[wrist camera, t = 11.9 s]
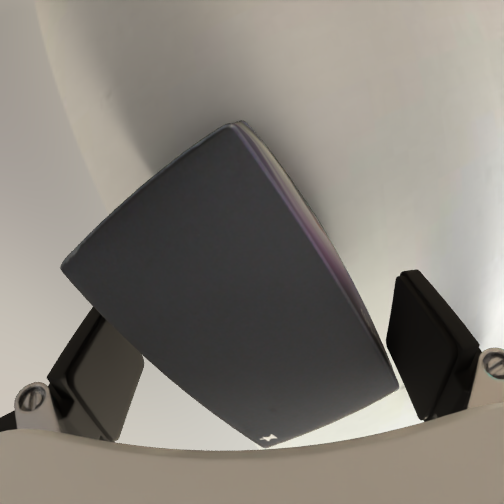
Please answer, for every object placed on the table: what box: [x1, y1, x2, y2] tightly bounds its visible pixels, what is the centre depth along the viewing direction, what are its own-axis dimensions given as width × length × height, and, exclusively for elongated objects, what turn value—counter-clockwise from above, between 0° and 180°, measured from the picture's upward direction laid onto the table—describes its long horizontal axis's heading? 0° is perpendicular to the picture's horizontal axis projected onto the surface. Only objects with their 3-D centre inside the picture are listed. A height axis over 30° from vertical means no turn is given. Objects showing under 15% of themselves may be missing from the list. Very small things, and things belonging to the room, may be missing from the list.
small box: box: [61, 121, 399, 448], centre depth 13 cm, size 11×6×10 cm, turn 35°
